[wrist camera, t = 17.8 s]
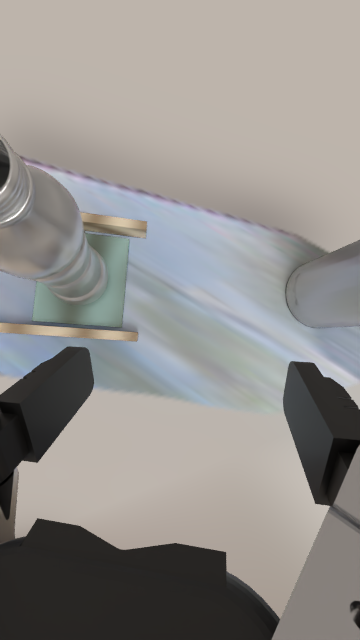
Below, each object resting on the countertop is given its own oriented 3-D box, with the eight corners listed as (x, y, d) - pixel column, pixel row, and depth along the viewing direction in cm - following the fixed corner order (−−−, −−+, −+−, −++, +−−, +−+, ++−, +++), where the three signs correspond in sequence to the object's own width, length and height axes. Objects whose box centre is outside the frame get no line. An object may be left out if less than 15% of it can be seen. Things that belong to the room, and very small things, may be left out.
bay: (146, 230, 31) (147, 215, 27) (137, 340, 30) (136, 341, 26) (-69, 201, 28) (-104, 179, 24) (-88, 326, 27) (-128, 324, 23)
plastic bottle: (59, 312, 29) (-122, 258, 9) (49, 255, 29) (-146, 80, 9) (115, 303, 30) (65, 237, 10) (106, 248, 30) (39, 79, 10)
